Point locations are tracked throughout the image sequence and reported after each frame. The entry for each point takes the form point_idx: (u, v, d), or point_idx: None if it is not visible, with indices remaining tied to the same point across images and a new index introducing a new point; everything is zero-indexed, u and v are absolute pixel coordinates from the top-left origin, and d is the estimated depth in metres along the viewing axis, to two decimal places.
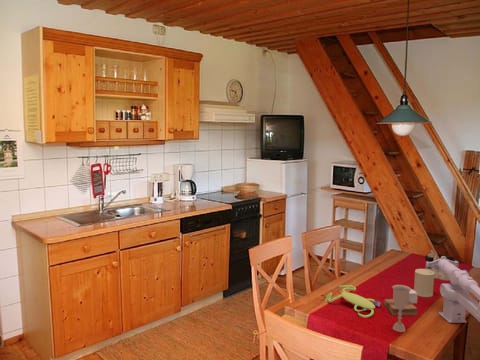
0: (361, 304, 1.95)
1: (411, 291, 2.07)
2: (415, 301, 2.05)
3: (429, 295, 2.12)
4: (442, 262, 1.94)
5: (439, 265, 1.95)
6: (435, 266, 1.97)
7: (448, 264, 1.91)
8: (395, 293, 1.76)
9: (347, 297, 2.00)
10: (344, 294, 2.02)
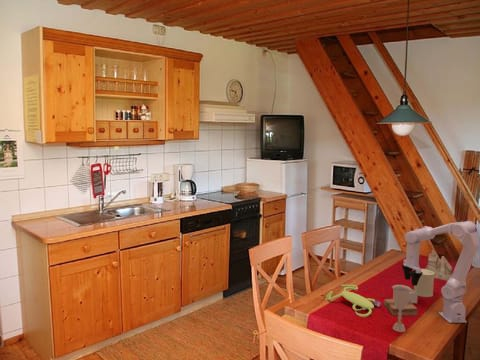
0: (360, 303, 1.96)
1: (411, 291, 2.07)
2: (415, 301, 2.05)
3: (429, 295, 2.12)
4: (409, 260, 2.03)
5: (413, 262, 2.02)
6: None
7: None
8: (395, 293, 1.76)
9: (347, 296, 2.01)
10: (344, 293, 2.04)
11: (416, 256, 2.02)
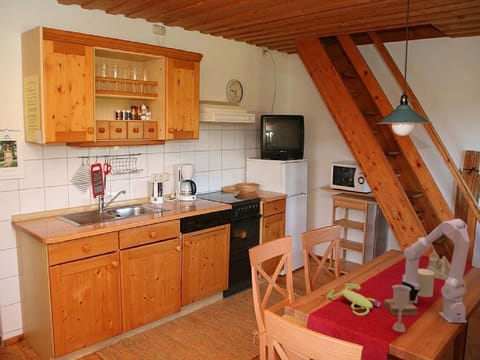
0: (358, 302, 1.97)
1: None
2: (415, 301, 2.05)
3: (429, 295, 2.12)
4: (408, 276, 2.04)
5: (412, 278, 2.03)
6: (416, 283, 2.03)
7: None
8: (395, 293, 1.76)
9: (346, 295, 2.03)
10: (344, 292, 2.05)
11: (415, 272, 2.03)
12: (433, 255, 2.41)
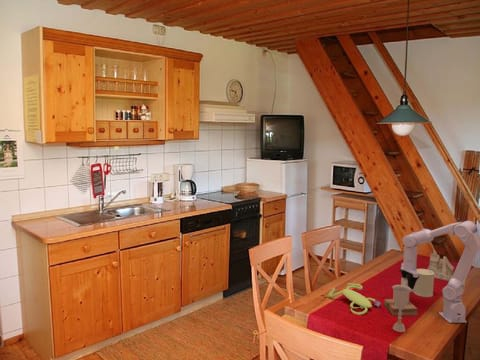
0: (357, 302, 1.98)
1: None
2: (413, 289, 2.01)
3: (429, 295, 2.12)
4: (406, 264, 2.00)
5: (411, 266, 1.99)
6: None
7: None
8: (395, 293, 1.76)
9: (346, 294, 2.04)
10: (345, 291, 2.06)
11: (414, 260, 1.99)
12: (434, 255, 2.41)
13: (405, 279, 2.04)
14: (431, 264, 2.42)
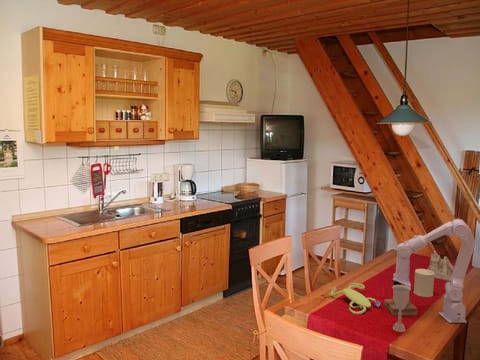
0: (357, 301, 1.99)
1: None
2: None
3: (429, 295, 2.12)
4: (399, 275, 1.93)
5: (403, 277, 1.92)
6: None
7: (396, 266, 1.94)
8: (395, 293, 1.76)
9: (347, 293, 2.05)
10: (345, 290, 2.07)
11: (408, 270, 1.93)
12: (434, 255, 2.41)
13: None
14: (432, 264, 2.42)
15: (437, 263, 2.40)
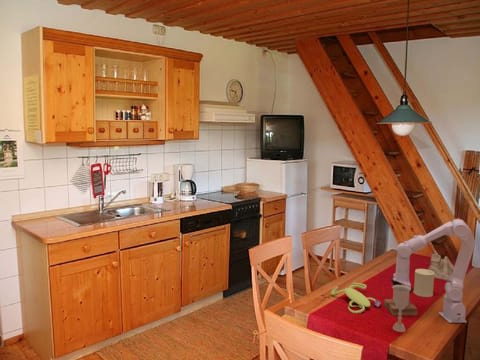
0: (356, 300, 1.99)
1: None
2: None
3: (429, 295, 2.12)
4: (399, 275, 1.93)
5: (403, 277, 1.92)
6: None
7: (396, 266, 1.94)
8: (395, 293, 1.76)
9: (347, 292, 2.06)
10: (346, 289, 2.08)
11: (408, 270, 1.93)
12: (435, 255, 2.41)
13: None
14: (432, 264, 2.42)
15: (438, 263, 2.40)
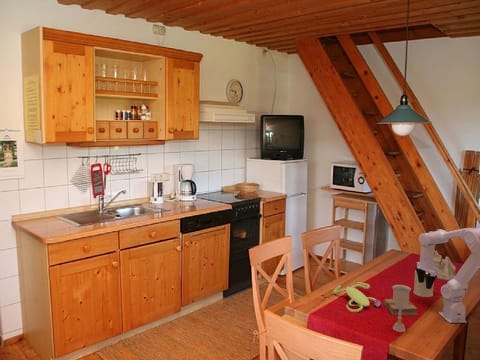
0: (356, 300, 2.00)
1: None
2: None
3: (429, 295, 2.12)
4: (423, 263, 1.99)
5: (428, 265, 1.98)
6: None
7: None
8: (395, 293, 1.76)
9: (348, 291, 2.07)
10: (348, 288, 2.10)
11: (430, 259, 1.98)
12: (436, 255, 2.41)
13: None
14: (433, 264, 2.42)
15: (439, 263, 2.40)
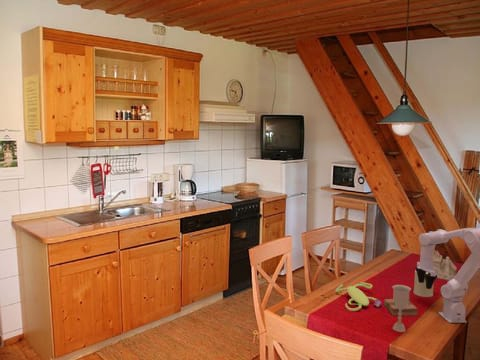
0: (355, 299, 2.01)
1: None
2: None
3: (429, 295, 2.12)
4: (423, 263, 1.99)
5: (428, 265, 1.98)
6: (431, 270, 1.98)
7: None
8: (395, 293, 1.76)
9: (349, 290, 2.08)
10: (349, 287, 2.10)
11: (430, 259, 1.98)
12: (437, 255, 2.41)
13: None
14: (434, 264, 2.42)
15: (439, 263, 2.40)
